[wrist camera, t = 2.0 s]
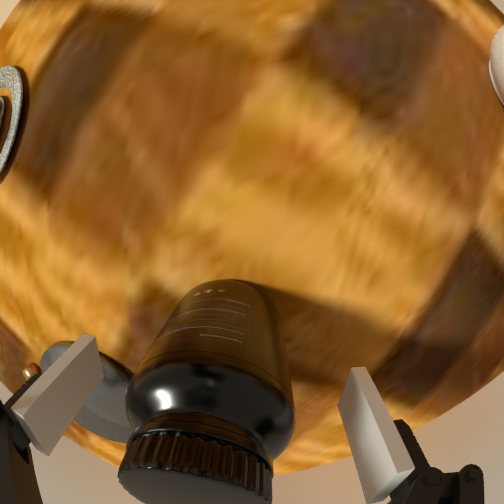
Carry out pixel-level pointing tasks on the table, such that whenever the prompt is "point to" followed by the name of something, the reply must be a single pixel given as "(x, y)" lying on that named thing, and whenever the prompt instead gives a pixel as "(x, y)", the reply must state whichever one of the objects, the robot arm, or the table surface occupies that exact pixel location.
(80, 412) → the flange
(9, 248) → the table surface
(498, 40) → the lidded jar
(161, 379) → the supplement bottle
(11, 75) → the grey ring with stone
